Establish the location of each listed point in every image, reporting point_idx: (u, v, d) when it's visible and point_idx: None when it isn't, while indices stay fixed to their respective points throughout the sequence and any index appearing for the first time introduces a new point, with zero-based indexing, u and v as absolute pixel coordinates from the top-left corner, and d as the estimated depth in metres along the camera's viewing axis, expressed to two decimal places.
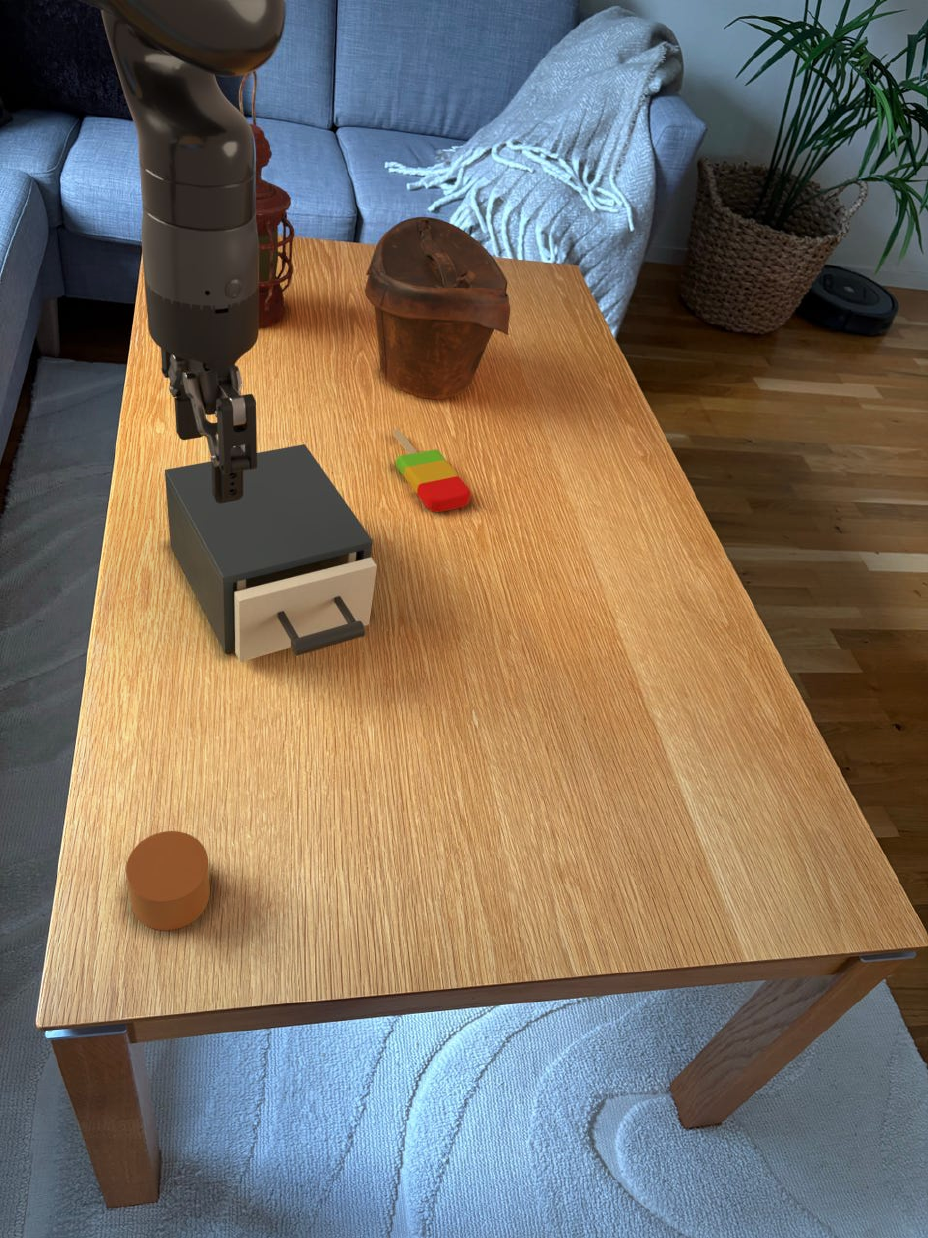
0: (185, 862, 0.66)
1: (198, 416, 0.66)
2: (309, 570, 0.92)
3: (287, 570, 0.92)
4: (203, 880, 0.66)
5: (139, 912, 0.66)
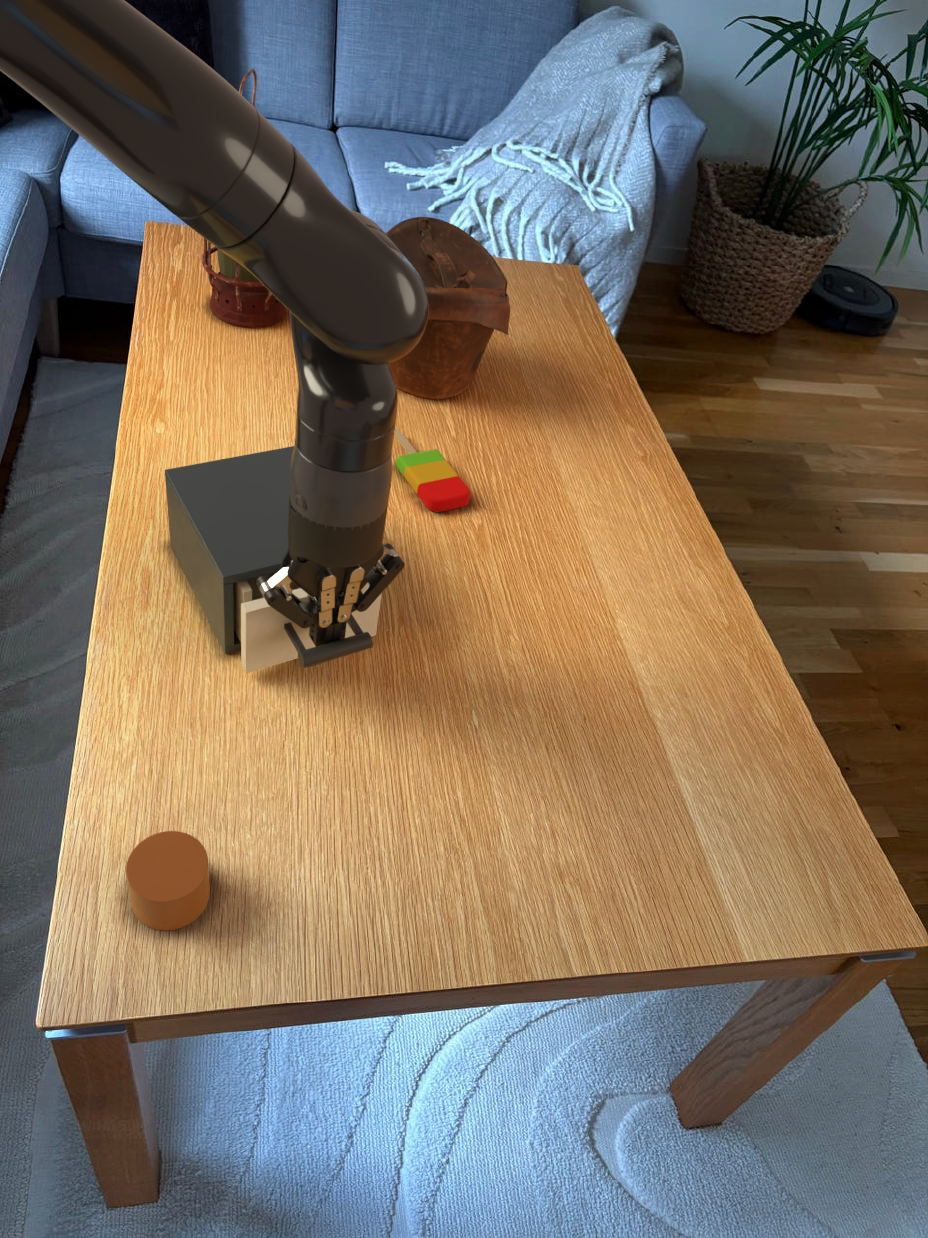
0: (185, 862, 0.66)
1: None
2: None
3: None
4: (203, 880, 0.66)
5: (139, 912, 0.66)
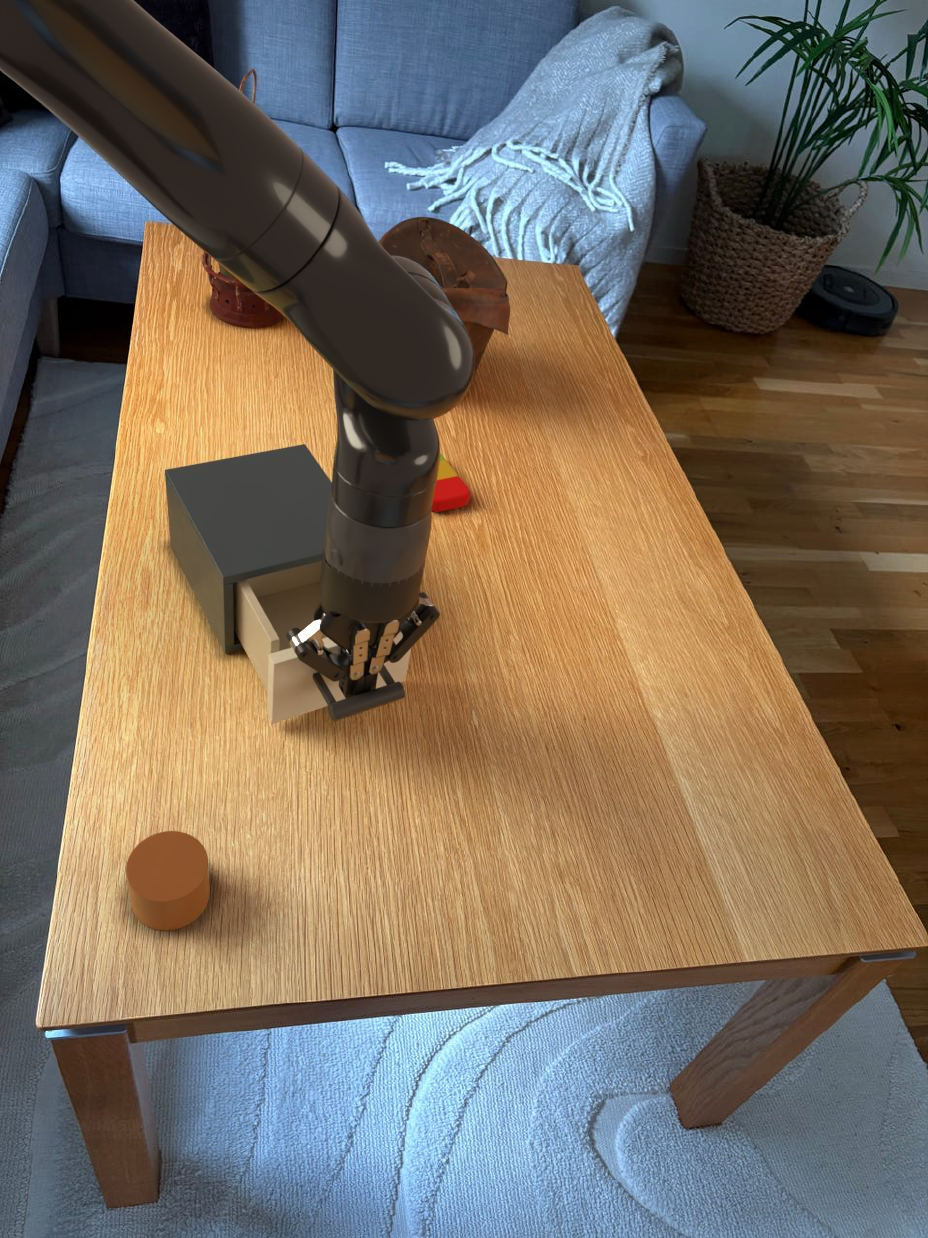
0: (185, 862, 0.66)
1: None
2: None
3: None
4: (203, 880, 0.66)
5: (139, 912, 0.66)
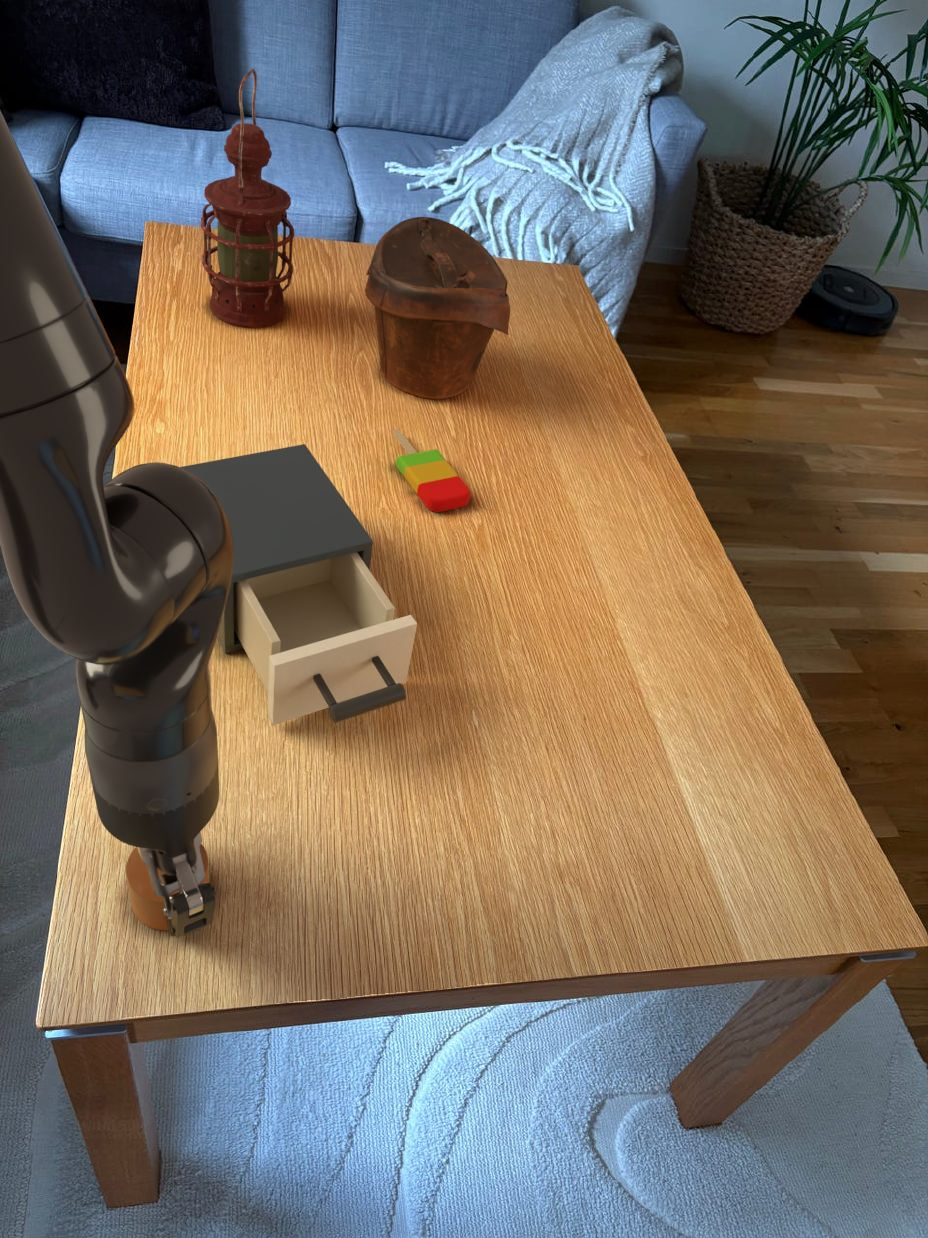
0: None
1: None
2: (342, 623, 0.88)
3: (319, 624, 0.87)
4: (203, 880, 0.66)
5: (139, 912, 0.66)
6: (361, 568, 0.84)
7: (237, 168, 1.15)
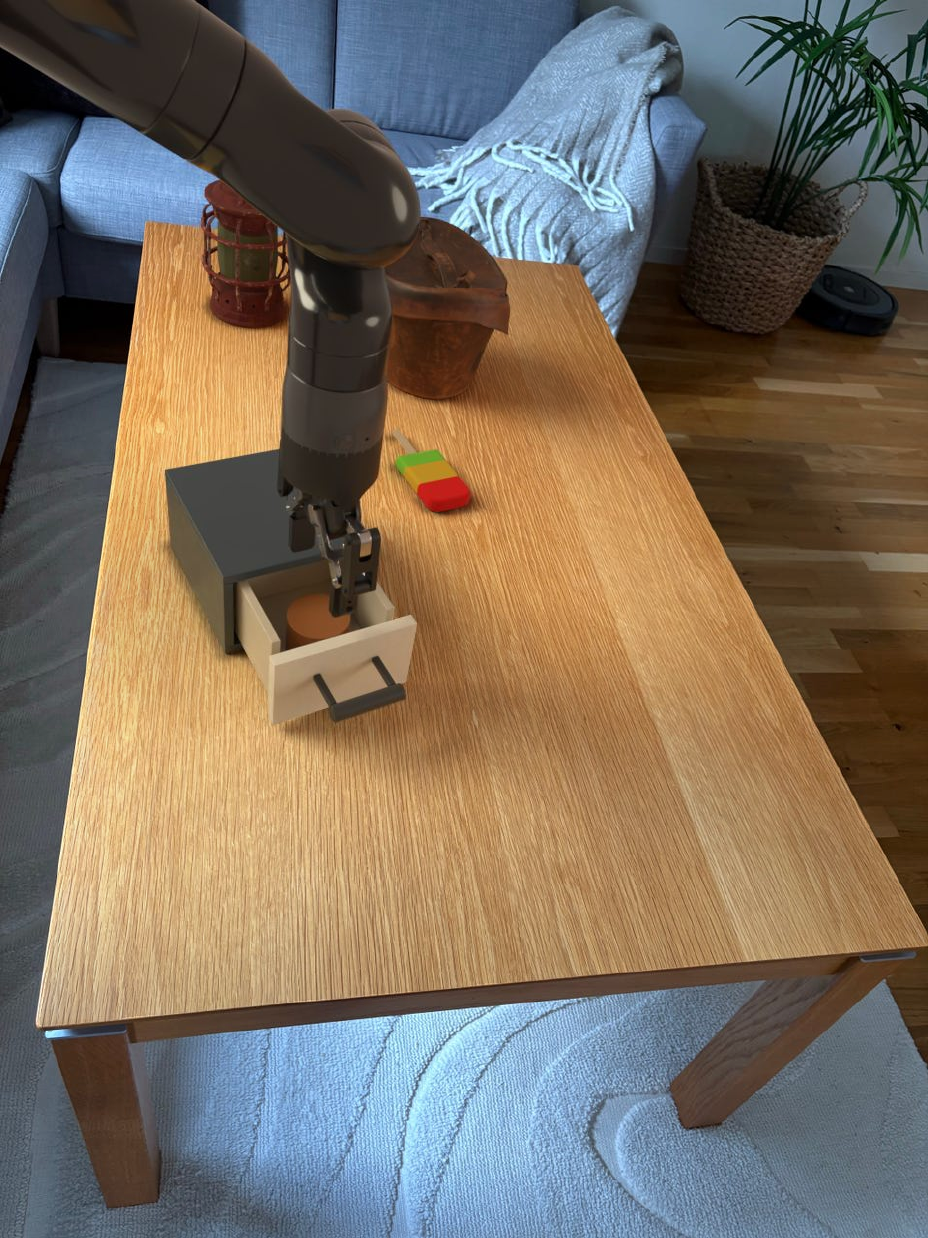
0: None
1: None
2: None
3: None
4: (347, 627, 0.82)
5: None
6: None
7: None
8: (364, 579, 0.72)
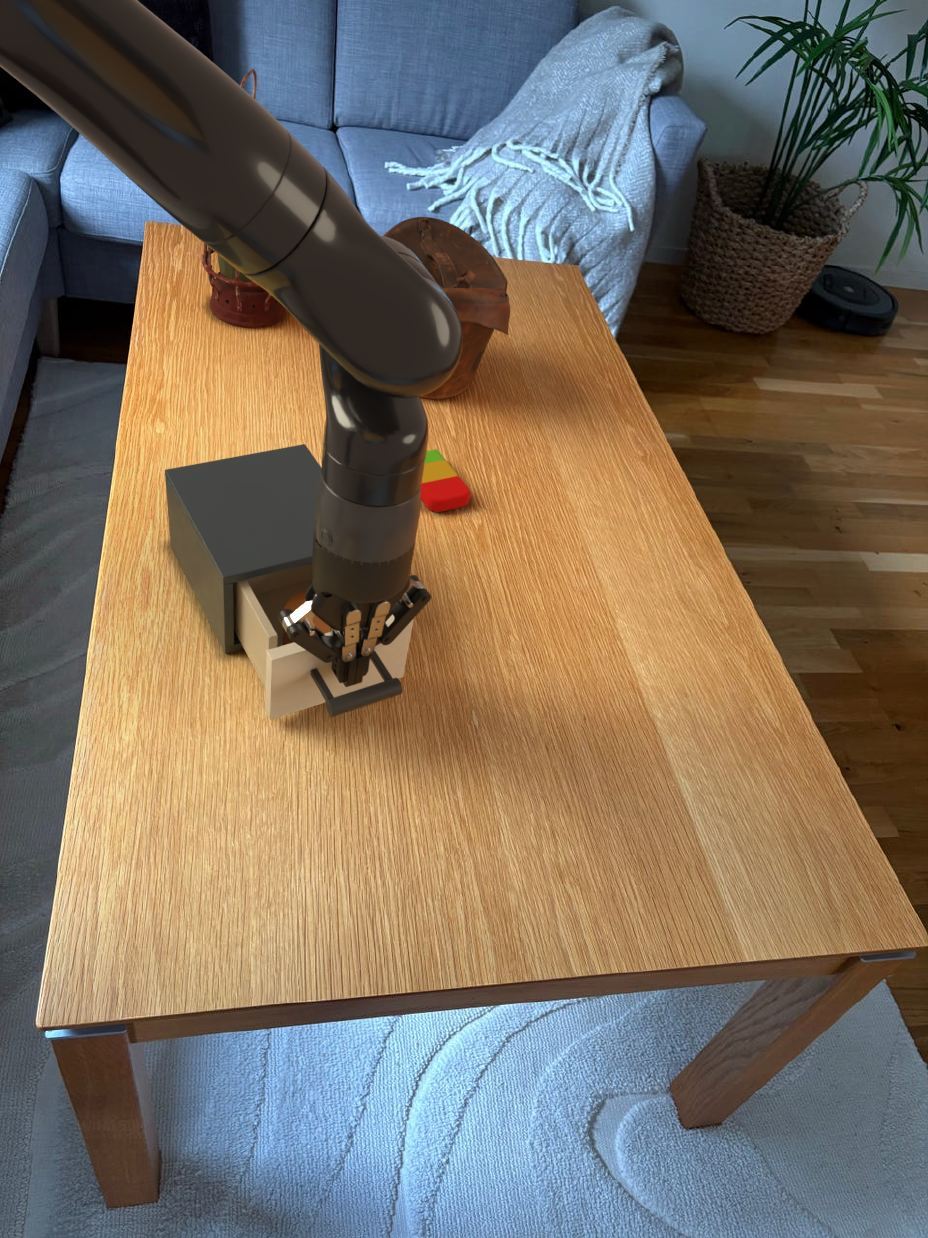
0: None
1: None
2: None
3: None
4: None
5: None
6: None
7: None
8: None
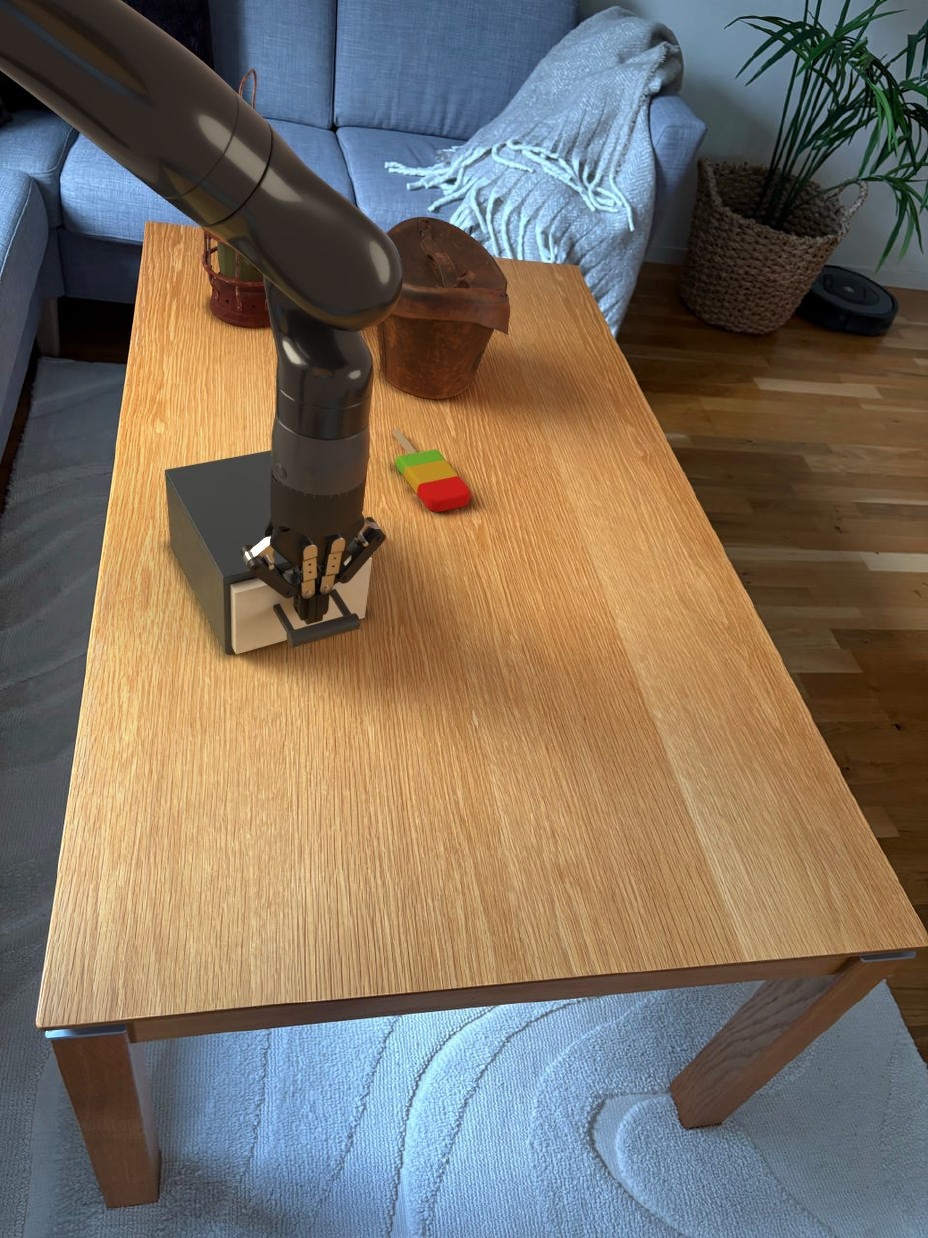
0: None
1: None
2: None
3: None
4: None
5: None
6: None
7: None
8: None
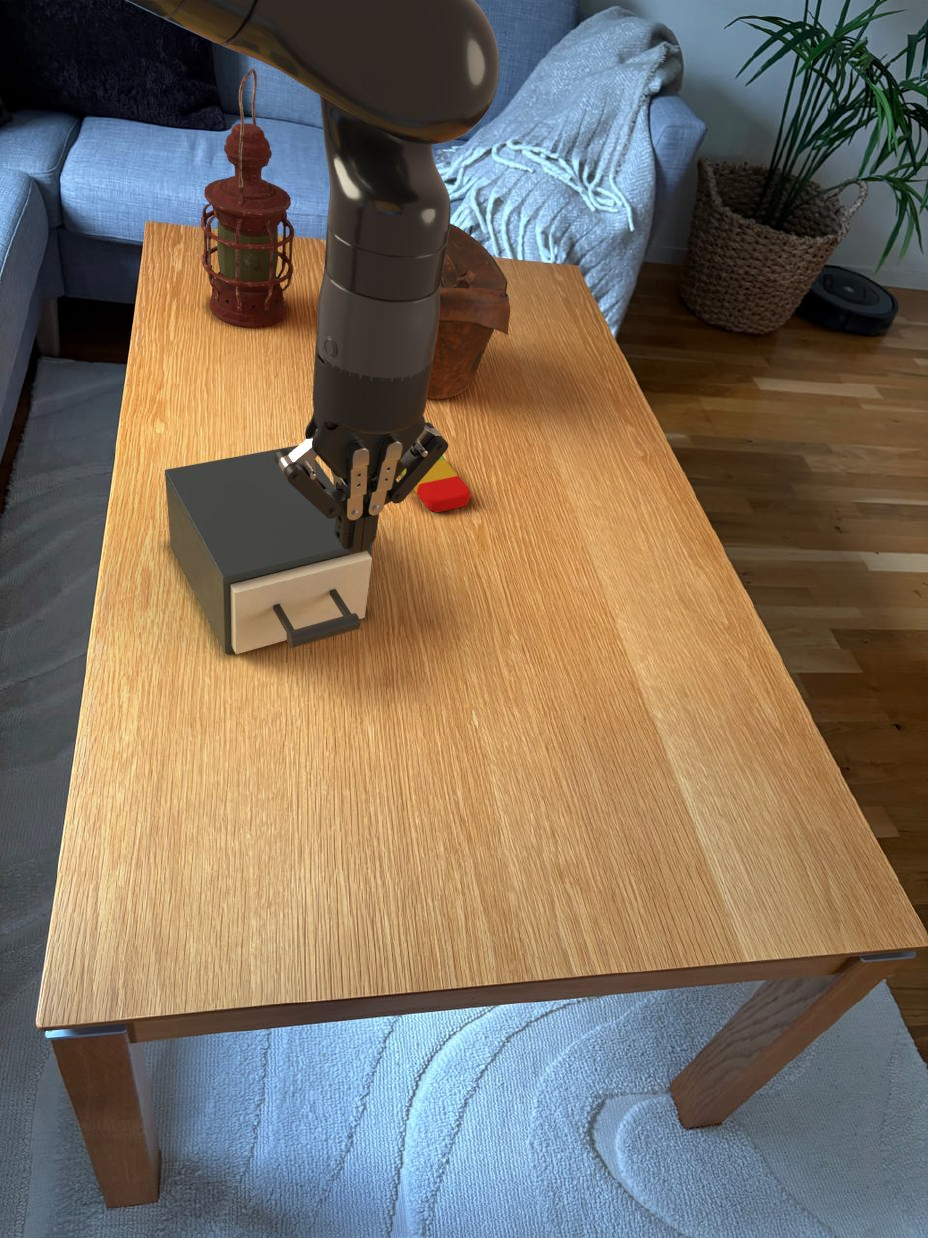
0: None
1: None
2: None
3: None
4: None
5: None
6: None
7: (237, 168, 1.15)
8: None
